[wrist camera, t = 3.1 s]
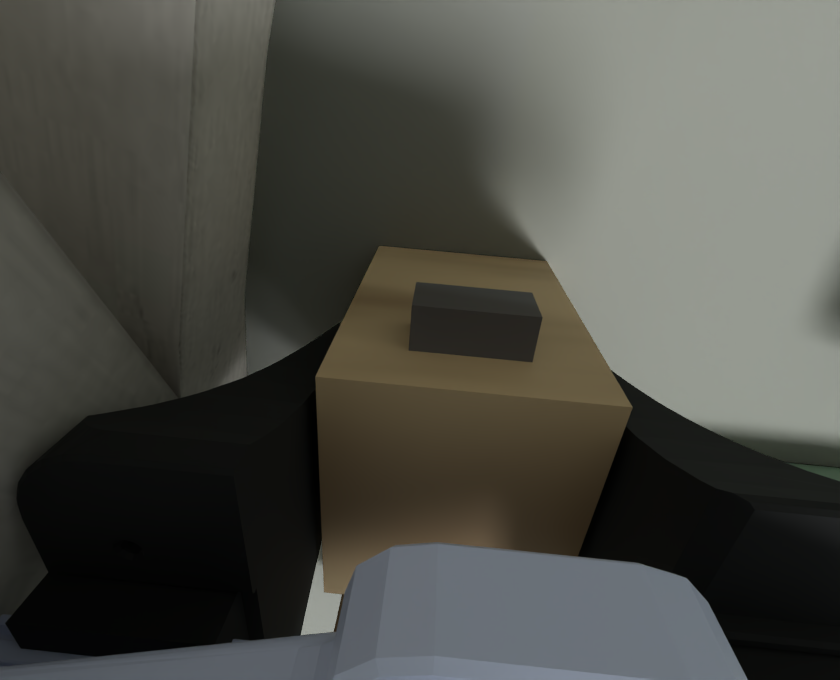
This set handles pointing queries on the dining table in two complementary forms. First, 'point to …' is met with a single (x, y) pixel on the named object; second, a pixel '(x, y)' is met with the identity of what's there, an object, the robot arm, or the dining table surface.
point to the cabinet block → (461, 412)
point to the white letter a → (119, 218)
